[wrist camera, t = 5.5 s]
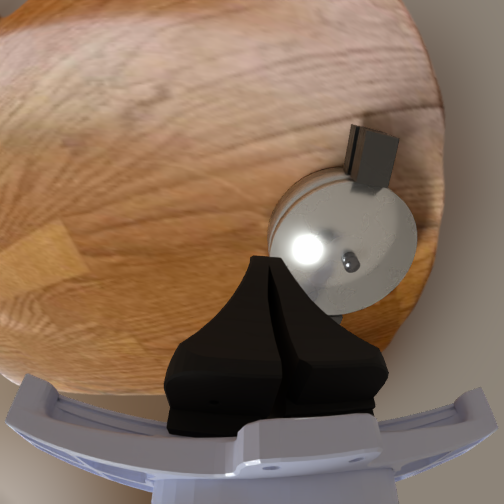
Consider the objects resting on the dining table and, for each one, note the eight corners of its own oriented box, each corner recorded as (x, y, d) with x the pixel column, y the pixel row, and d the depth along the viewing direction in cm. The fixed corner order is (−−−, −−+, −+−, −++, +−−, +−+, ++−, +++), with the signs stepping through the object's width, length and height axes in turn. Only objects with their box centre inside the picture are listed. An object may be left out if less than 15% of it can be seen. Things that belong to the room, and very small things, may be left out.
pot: (371, 303, 27) (380, 324, 25) (258, 298, 27) (259, 322, 24) (423, 142, 19) (444, 152, 16) (282, 111, 18) (287, 114, 15)
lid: (384, 309, 24) (390, 322, 23) (260, 305, 24) (261, 320, 22) (442, 151, 16) (456, 158, 15) (287, 114, 15) (290, 117, 14)
